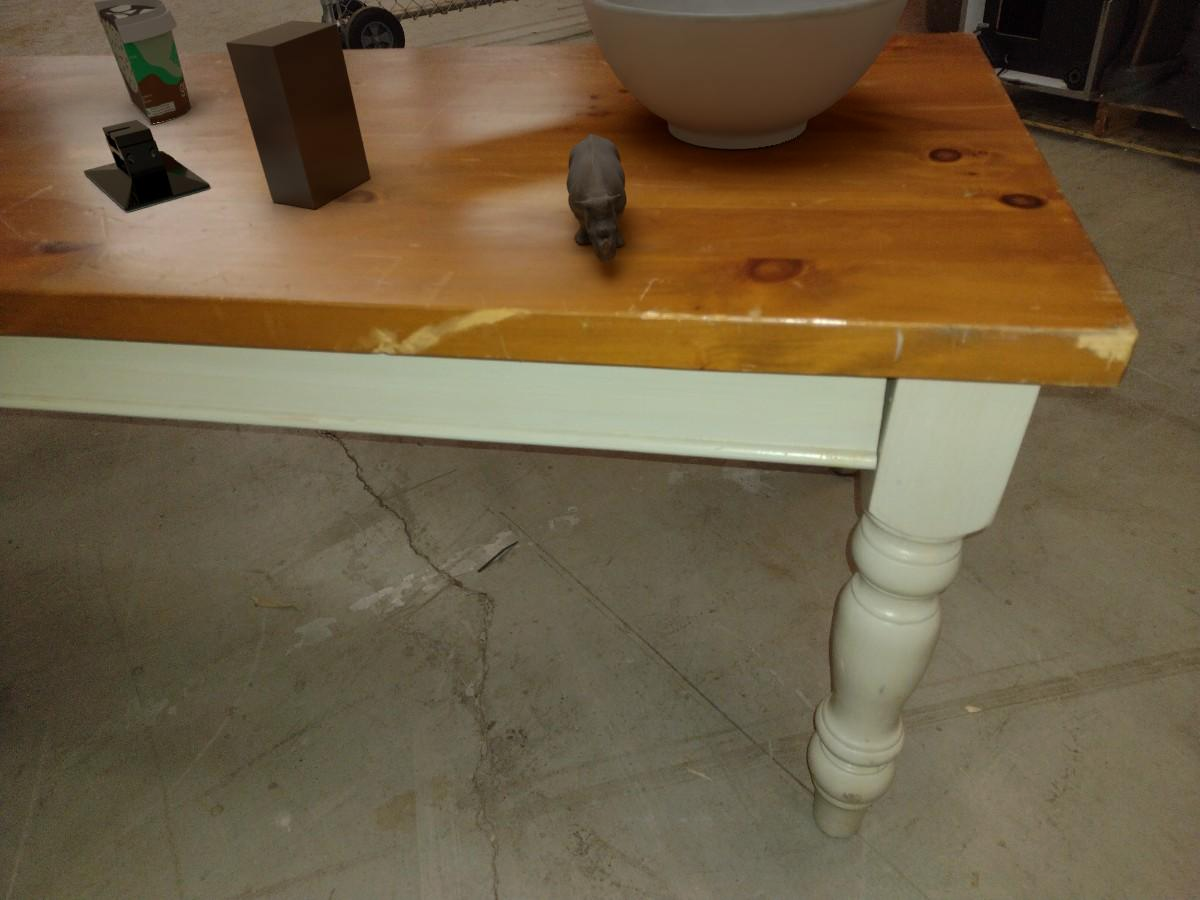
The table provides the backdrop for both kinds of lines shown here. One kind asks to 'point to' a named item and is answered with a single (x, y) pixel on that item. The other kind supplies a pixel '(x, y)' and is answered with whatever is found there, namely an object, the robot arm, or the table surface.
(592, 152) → the rhino figurine
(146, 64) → the food container
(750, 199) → the table surface
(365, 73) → the table surface
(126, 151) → the build plate
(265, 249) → the table surface
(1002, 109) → the table surface
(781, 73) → the decorative bowl
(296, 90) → the walnut block
